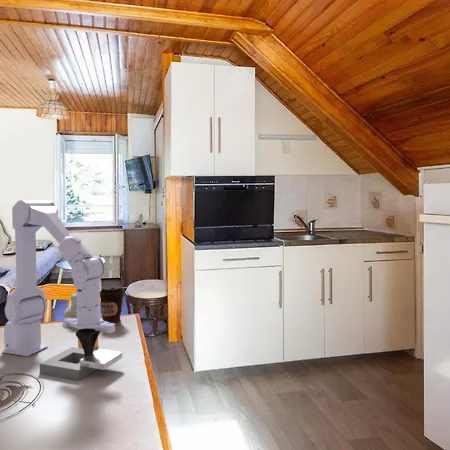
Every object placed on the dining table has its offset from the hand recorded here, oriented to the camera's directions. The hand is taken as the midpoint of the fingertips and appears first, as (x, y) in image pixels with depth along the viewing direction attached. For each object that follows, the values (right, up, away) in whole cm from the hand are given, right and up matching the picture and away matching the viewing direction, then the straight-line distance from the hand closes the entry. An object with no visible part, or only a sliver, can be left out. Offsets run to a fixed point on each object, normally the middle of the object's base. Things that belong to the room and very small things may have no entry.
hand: (89, 356), depth 103 cm
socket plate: (-4, -3, +2) cm, 5 cm away
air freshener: (-17, -1, +41) cm, 44 cm away
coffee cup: (-5, -1, +39) cm, 39 cm away
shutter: (+4, -1, -1) cm, 4 cm away
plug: (-6, -3, +16) cm, 17 cm away
